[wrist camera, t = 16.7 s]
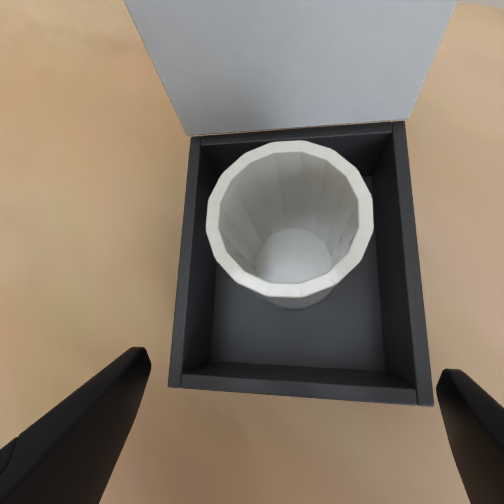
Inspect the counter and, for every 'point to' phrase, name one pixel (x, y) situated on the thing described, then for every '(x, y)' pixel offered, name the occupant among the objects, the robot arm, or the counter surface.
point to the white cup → (290, 222)
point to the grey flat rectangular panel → (290, 59)
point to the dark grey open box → (320, 315)
